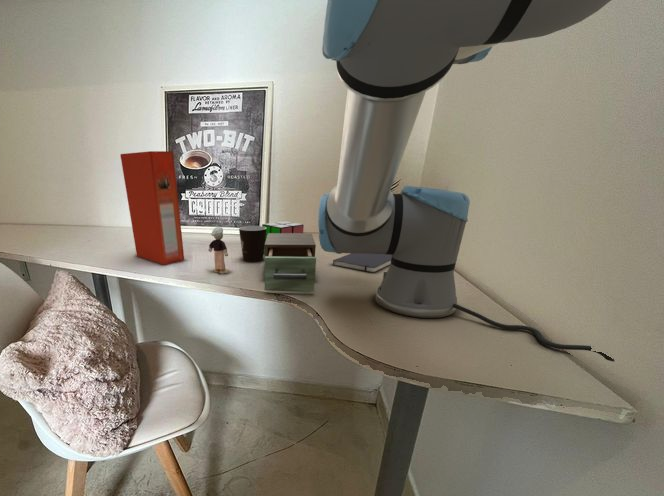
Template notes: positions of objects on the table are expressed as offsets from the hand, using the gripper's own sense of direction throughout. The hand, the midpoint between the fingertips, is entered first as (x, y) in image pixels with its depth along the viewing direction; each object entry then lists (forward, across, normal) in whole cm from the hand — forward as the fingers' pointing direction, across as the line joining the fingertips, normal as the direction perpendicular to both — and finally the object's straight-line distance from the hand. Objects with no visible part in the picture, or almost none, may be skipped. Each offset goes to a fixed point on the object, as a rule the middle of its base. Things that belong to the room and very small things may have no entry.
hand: (352, 224), depth 82 cm
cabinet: (+14, +4, +15) cm, 21 cm away
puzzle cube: (+14, +26, +18) cm, 35 cm away
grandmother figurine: (+14, +4, +35) cm, 38 cm away
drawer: (+13, -8, +15) cm, 22 cm away
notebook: (+14, +18, -9) cm, 25 cm away
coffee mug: (+14, +20, +27) cm, 36 cm away
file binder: (+14, +18, +58) cm, 63 cm away
